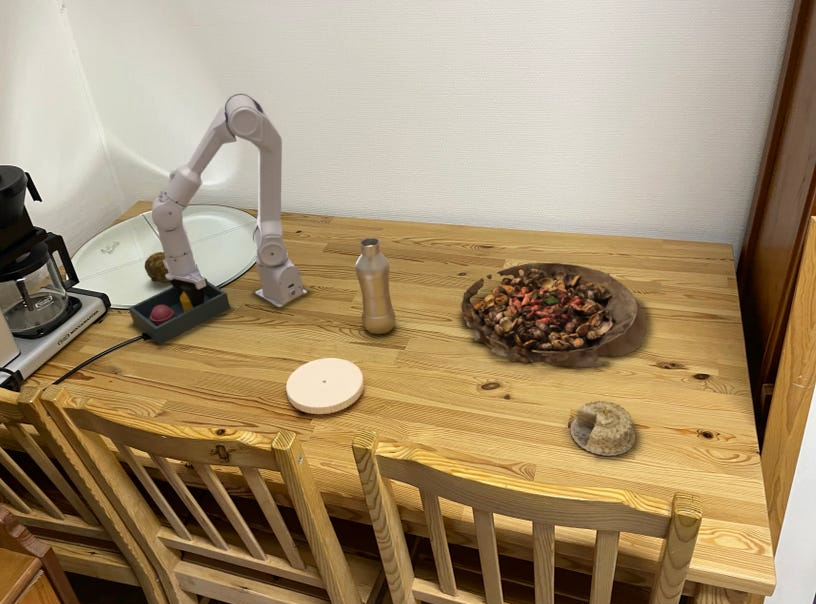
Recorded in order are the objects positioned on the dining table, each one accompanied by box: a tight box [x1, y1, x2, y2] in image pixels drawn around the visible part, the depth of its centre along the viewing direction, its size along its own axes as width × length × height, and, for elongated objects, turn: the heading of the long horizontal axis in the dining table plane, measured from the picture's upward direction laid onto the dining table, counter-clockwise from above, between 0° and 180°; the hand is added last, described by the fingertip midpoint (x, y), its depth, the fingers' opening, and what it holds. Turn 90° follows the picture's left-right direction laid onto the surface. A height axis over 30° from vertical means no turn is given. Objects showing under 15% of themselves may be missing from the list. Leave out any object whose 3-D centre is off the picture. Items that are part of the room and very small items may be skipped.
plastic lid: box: [285, 357, 365, 415], centre depth 132 cm, size 14×14×2 cm
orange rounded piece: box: [180, 291, 193, 312], centre depth 159 cm, size 5×5×6 cm
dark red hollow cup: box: [150, 305, 175, 326], centre depth 155 cm, size 5×5×5 cm
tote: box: [128, 281, 231, 346], centre depth 158 cm, size 12×17×5 cm
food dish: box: [460, 262, 648, 369], centre depth 141 cm, size 35×33×8 cm
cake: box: [569, 400, 636, 457], centre depth 114 cm, size 10×10×5 cm
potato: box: [144, 251, 169, 283], centre depth 173 cm, size 8×13×8 cm, turn 154°
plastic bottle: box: [354, 237, 397, 335], centre depth 142 cm, size 6×7×20 cm
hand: (193, 304), depth 160 cm, fingers closed on orange rounded piece, 5 cm apart
